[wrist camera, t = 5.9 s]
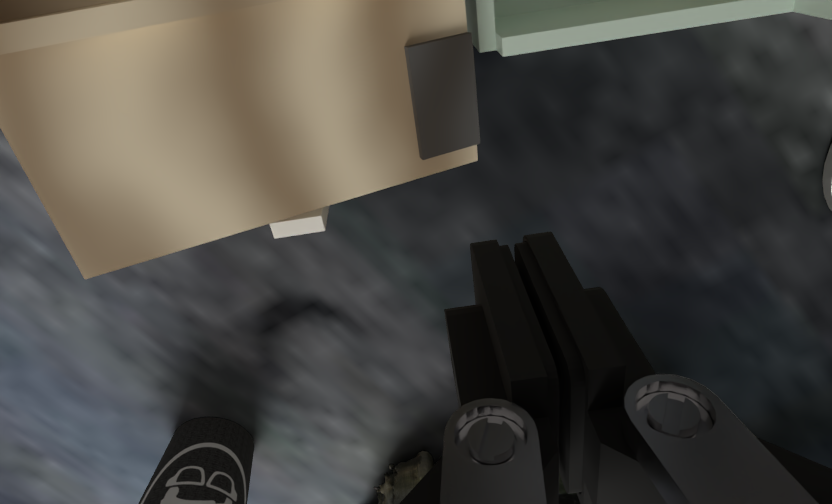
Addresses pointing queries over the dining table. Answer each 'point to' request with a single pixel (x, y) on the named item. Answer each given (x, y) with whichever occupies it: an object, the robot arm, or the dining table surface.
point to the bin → (607, 19)
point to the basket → (416, 469)
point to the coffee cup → (203, 465)
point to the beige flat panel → (226, 112)
